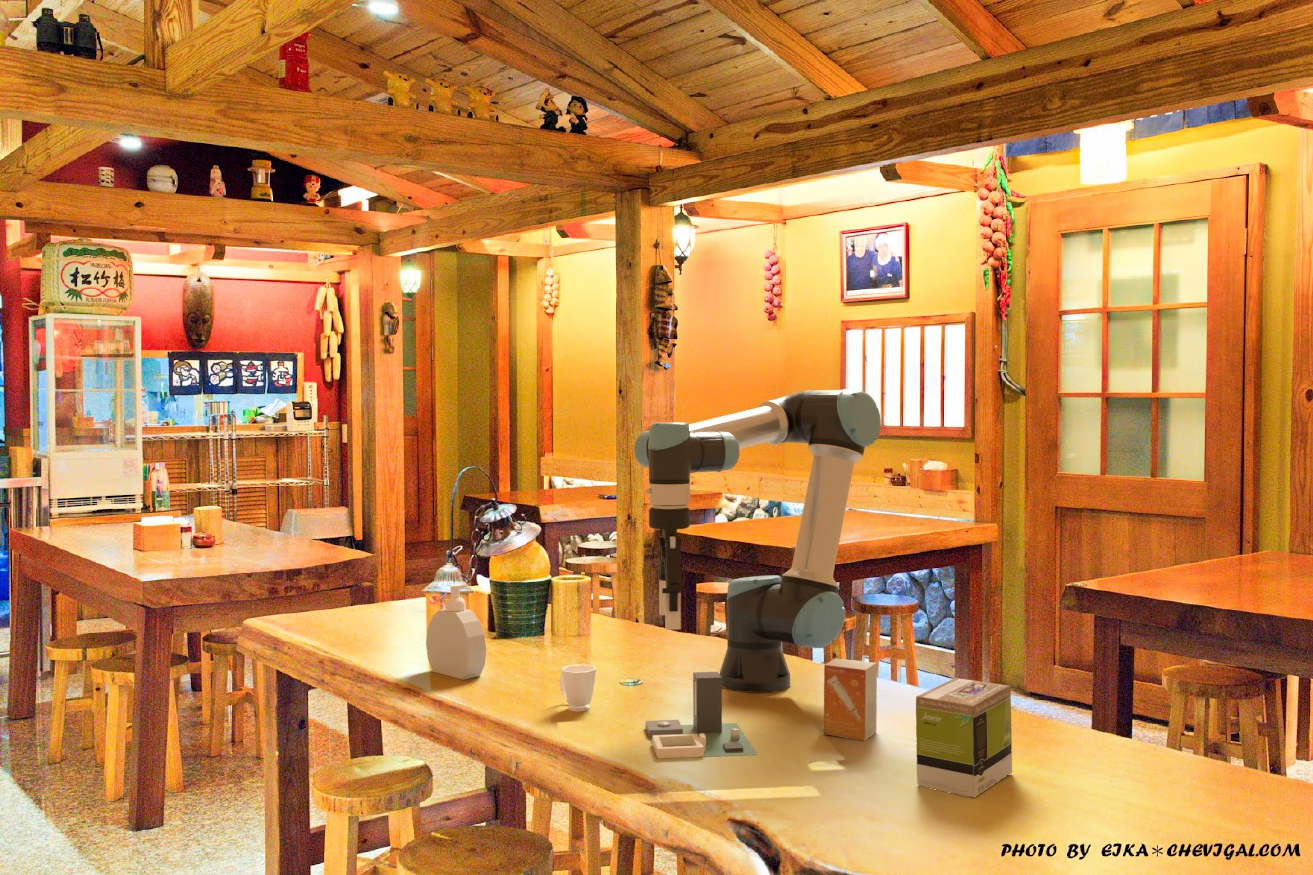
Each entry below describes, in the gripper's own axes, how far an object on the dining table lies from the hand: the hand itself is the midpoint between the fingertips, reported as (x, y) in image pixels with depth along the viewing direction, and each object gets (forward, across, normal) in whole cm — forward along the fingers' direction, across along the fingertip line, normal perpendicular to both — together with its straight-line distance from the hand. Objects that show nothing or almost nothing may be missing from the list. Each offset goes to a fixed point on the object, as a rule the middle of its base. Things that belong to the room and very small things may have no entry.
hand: (669, 621), depth 211 cm
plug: (+19, +4, +6) cm, 20 cm away
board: (+20, +10, +4) cm, 23 cm away
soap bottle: (+20, -48, -44) cm, 68 cm away
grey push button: (+20, +6, -1) cm, 21 cm away
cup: (+20, -18, -17) cm, 32 cm away
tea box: (+20, +31, +45) cm, 58 cm away
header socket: (+19, +16, 0) cm, 25 cm away
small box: (+20, +5, +33) cm, 39 cm away
